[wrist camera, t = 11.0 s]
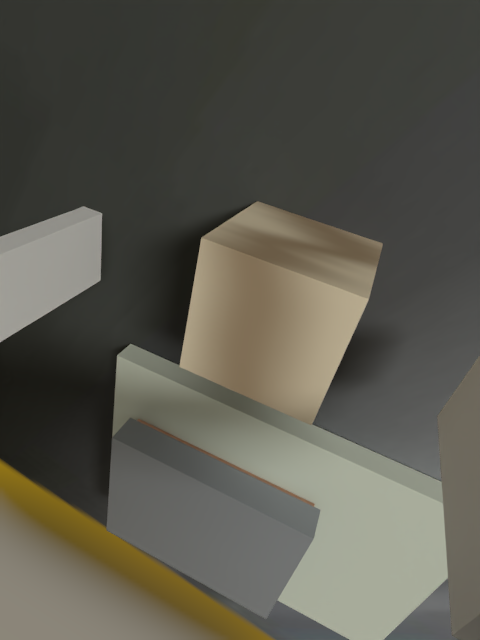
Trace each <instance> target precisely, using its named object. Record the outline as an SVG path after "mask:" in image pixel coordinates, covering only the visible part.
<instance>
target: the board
mask: <svg viewBox="0 0 480 640" xmlns="http://www.w3.org/2000/svg"><path fill="white" fill-rule="evenodd" d="M179 366H180V365H177V364H175V363H173V362H171V361H168V360H166V359H164V358H162V357H159V356H157V355H155V354H153V353H150V352H148V351H146V350H144V349H141V348H139V347H137V346H135V345H132V344H130V345H129V346H127V347H126V348H125V349H124V350H123V351H122V352H120V353H119V354H118V355H117V366H116V383H115V399H114V416H113V433H112V437H113V436H114V435H115V434H116V433H117V432H118V430H119V429H120V428H121V427H122V426H123V425H124V424H125V423H126V422H127V420H128V419H129V418H132V419H135V420H138V419H140V420H142V421H144V422H147V423H149V424H151V425H153V426H155V427H157V428H159V429H161V430H163V431H165V432H167V433H169V434H171V435H173V436H175V437H177V438H180V439H182V440H184V441H186V442H188V443H190V444H192V445H194V446H196V447H198V448H200V449H202V450H204V451H206V452H208V453H211V454H213V455H215V456H217V457H219V458H221V459H223V460H225V461H227V462H229V463H231V464H233V465H235V466H237V467H239V468H241V469H244V470H246V471H248V472H250V473H252V474H254V475H256V476H258V477H260V478H262V479H264V480H266V481H268V482H270V483H272V484H274V485H277V486H279V487H281V488H283V489H285V490H287V491H289V492H291V493H293V494H295V495H297V496H299V497H301V498H303V499H305V500H307V501H310V502H312V503H314V504H315V505H314V507H315V508H318V509H320V510H321V511H320V515H319V519H318V523H317V527H316V531H315V536H314V539H313V541H312V543H311V544H310V546H309V548H308V549H307V551H306V553H305V554H304V556H303V558H302V559H301V561H300V563H299V564H298V566H297V568H296V570H295V571H294V573H293V575H292V576H291V578H290V580H289V581H288V583H287V585H286V586H285V588H284V590H283V591H282V593H281V595H280V596H279V598H278V601H280V602H282V603H284V604H285V605H287V606H289V607H291V608H293V609H295V610H296V611H298V612H300V613H302V614H304V615H306V616H307V617H309V618H311V619H313V620H315V621H317V622H318V623H320V624H322V625H324V626H326V627H328V628H329V629H331V630H333V631H335V632H337V633H339V634H340V635H342V636H344V637H346V638H348V639H350V640H383V639H384V638H385V637H386V636H388V635H389V634H390V633H391V632H392V631H393V630H394V629H395V628H396V627H397V626H398V625H399V624H400V623H401V622H402V621H403V620H404V619H405V618H406V617H407V616H408V615H409V614H410V613H412V612H413V611H414V610H415V609H416V608H417V607H418V606H419V605H420V604H421V603H422V602H423V601H424V600H425V599H426V598H427V597H428V596H429V595H430V594H431V593H432V592H433V591H434V590H436V589H437V588H438V587H439V586H440V585H441V584H442V583H443V582H444V581H445V580H446V579H447V578H448V569H447V554H446V539H445V525H444V510H443V495H442V482H441V481H439V480H436V479H434V478H432V477H430V476H427V475H425V474H423V473H421V472H418V471H416V470H414V469H412V468H409V467H407V466H405V465H403V464H400V463H398V462H396V461H394V460H391V459H389V458H387V457H385V456H382V455H380V454H378V453H376V452H373V451H371V450H369V449H367V448H364V447H362V446H360V445H358V444H355V443H353V442H351V441H349V440H346V439H344V438H342V437H340V436H337V435H335V434H333V433H331V432H328V431H326V430H324V429H322V428H319V427H317V426H315V425H313V424H312V426H311V425H309V424H307V423H305V422H302V421H300V420H298V419H296V418H293V417H291V416H289V415H287V414H284V413H282V412H280V411H278V410H275V409H273V408H271V407H269V406H266V405H264V404H262V403H260V402H257V401H255V400H253V399H251V398H248V397H246V396H244V395H242V394H239V393H237V392H235V391H233V390H230V389H228V388H226V387H224V386H221V385H219V384H217V383H215V382H212V381H210V380H208V379H206V378H203V377H201V376H199V375H197V374H194V373H192V372H190V371H188V370H185V369H183V368H181V367H179Z"/></svg>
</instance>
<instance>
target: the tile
mask: <svg viewBox="0 0 480 640" xmlns="http://www.w3.org/2000/svg"><path fill="white" fill-rule="evenodd" d="M314 505H315V504H314V503H312V502H310V501H307V500H305V499H303V498H301V497H299V496H297V495H295V494H293V493H291V492H289V491H287V490H285V489H283V488H281V487H279V486H277V485H274V484H272V483H270V482H268V481H266V480H264V479H262V478H260V477H258V476H256V475H254V474H252V473H250V472H248V471H246V470H244V469H241V468H239V467H237V466H235V465H233V464H231V463H229V462H227V461H225V460H223V459H221V458H219V457H217V456H215V455H213V454H211V453H208V452H206V451H204V450H202V449H200V448H198V447H196V446H194V445H192V444H190V443H188V442H186V441H184V440H182V439H180V438H177V437H175V436H173V435H171V434H169V433H167V432H165V431H163V430H161V429H159V428H157V427H155V426H153V425H151V424H149V423H147V422H144V421H142V420H140V419H138V420H135V419H132V418H129V419H128V420H127V422H126V423H125V424H124V425H123V426H122V427H121V428H120V429H119V430H118V432H117V433H116V434H115V435H114V436H113V437H112V448H111V465H110V482H109V498H108V515H107V531H109V532H111V533H112V534H114V535H116V536H118V537H120V538H121V539H123V540H125V541H127V542H129V543H130V544H132V545H134V546H136V547H137V548H139V549H141V550H143V551H145V552H146V553H148V554H150V555H152V556H154V557H155V558H157V559H159V560H161V561H163V562H164V563H166V564H168V565H170V566H172V567H173V568H175V569H177V570H179V571H180V572H182V573H184V574H186V575H188V576H189V577H191V578H193V579H195V580H197V581H198V582H200V583H202V584H204V585H206V586H207V587H209V588H211V589H213V590H215V591H216V592H218V593H220V594H222V595H223V596H225V597H227V598H229V599H231V600H232V601H234V602H236V603H238V604H240V605H241V606H243V607H245V608H247V609H249V610H250V611H252V612H254V613H256V614H258V615H259V616H261V617H263V618H265V619H266V618H267V617H268V615H269V613H270V612H271V610H272V608H273V607H274V605H275V603H276V602H277V600H278V598H279V596H280V595H281V593H282V591H283V590H284V588H285V586H286V585H287V583H288V581H289V580H290V578H291V576H292V575H293V573H294V571H295V570H296V568H297V566H298V564H299V563H300V561H301V559H302V558H303V556H304V554H305V553H306V551H307V549H308V548H309V546H310V544H311V543H312V541H313V539H314V536H315V531H316V527H317V523H318V519H319V515H320V511H321V510H320V509H318V508H315V507H314Z"/></svg>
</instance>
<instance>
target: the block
mask: <svg viewBox="0 0 480 640" xmlns="http://www.w3.org/2000/svg"><path fill="white" fill-rule="evenodd" d="M382 245H383V244H382V243H379V242H376V241H373V240H370V239H368V238H365V237H362V236H359V235H356V234H353V233H350V232H347V231H344V230H341V229H338V228H335V227H332V226H329V225H326V224H323V223H320V222H317V221H314V220H311V219H308V218H305V217H302V216H299V215H296V214H293V213H290V212H287V211H284V210H281V209H279V208H276V207H273V206H270V205H267V204H264V203H261V202H258V201H257V202H255V203H254V204H252V205H251V206H249V207H247V208H246V209H244V210H243V211H241V212H240V213H238V214H237V215H235V216H234V217H232V218H231V219H229V220H228V221H226V222H225V223H223V224H222V225H220V226H218V227H217V228H215V229H214V230H212V231H211V232H209V233H208V234H206V235H205V236H203V237H202V238H201V243H200V249H199V255H198V261H197V266H196V272H195V278H194V284H193V290H192V296H191V302H190V307H189V313H188V319H187V325H186V331H185V337H184V343H183V348H182V354H181V360H180V366H179V367H181V368H183V369H185V370H188V371H190V372H192V373H194V374H197V375H199V376H201V377H203V378H206V379H208V380H210V381H212V382H215V383H217V384H219V385H221V386H224V387H226V388H228V389H230V390H233V391H235V392H237V393H239V394H242V395H244V396H246V397H248V398H251V399H253V400H255V401H257V402H260V403H262V404H264V405H266V406H269V407H271V408H273V409H275V410H278V411H280V412H282V413H284V414H287V415H289V416H291V417H293V418H296V419H298V420H300V421H302V422H305V423H307V424H309V425H311V426H312V423H313V421H314V419H315V417H316V415H317V412H318V410H319V408H320V406H321V403H322V401H323V399H324V397H325V395H326V392H327V390H328V388H329V386H330V384H331V381H332V379H333V377H334V375H335V373H336V370H337V368H338V366H339V364H340V362H341V359H342V357H343V355H344V353H345V351H346V348H347V346H348V344H349V342H350V340H351V337H352V335H353V333H354V331H355V329H356V326H357V324H358V322H359V320H360V317H361V315H362V313H363V311H364V309H365V306H366V304H367V302H368V300H369V296H370V292H371V289H372V285H373V281H374V277H375V273H376V269H377V265H378V261H379V257H380V253H381V249H382Z"/></svg>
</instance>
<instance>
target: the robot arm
mask: <svg viewBox="0 0 480 640" xmlns="http://www.w3.org/2000/svg"><path fill="white" fill-rule="evenodd" d="M101 238H102V213H100V212H97V211H94V210H92V209H89V208H86V207H81V208H78V209H76V210H73V211H70V212H67V213H65V214H62V215H59V216H56V217H54V218H51V219H48V220H45V221H42V222H40V223H37V224H34V225H31V226H29V227H26V228H23V229H20V230H18V231H15V232H12V233H9V234H6V235H4V236H1V237H0V342H1V341H3V340H4V339H6V338H8V337H9V336H11V335H13V334H14V333H16V332H17V331H19V330H21V329H22V328H24V327H26V326H27V325H29V324H30V323H32V322H34V321H35V320H37V319H39V318H40V317H42V316H43V315H45V314H47V313H48V312H50V311H52V310H53V309H55V308H56V307H58V306H60V305H61V304H63V303H65V302H66V301H68V300H69V299H71V298H73V297H74V296H76V295H78V294H79V293H81V292H83V291H84V290H86V289H87V288H89V287H91V286H92V285H94V284H96V283H97V282H99V281H100V280H101ZM437 420H438V435H439V450H440V465H441V480H442V495H443V510H444V525H445V539H446V554H447V569H448V584H449V599H450V614H451V629H452V636H454V637H456V638H458V639H460V640H480V356H479V357H478V359H477V360H476V362H475V363H474V364H473V366H472V367H471V369H470V370H469V372H468V373H467V374H466V376H465V377H464V379H463V380H462V382H461V383H460V384H459V386H458V387H457V389H456V390H455V392H454V393H453V394H452V396H451V397H450V399H449V400H448V402H447V403H446V404H445V406H444V407H443V409H442V410H441V412H440V413H439V414H438V416H437Z"/></svg>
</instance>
